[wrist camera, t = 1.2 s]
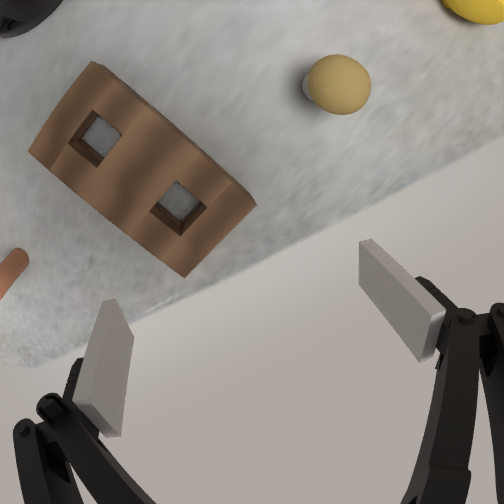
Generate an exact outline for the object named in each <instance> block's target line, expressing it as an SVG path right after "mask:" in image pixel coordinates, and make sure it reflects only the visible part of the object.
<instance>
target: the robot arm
mask: <svg viewBox="0 0 504 504" xmlns="http://www.w3.org/2000/svg"><path fill="white" fill-rule="evenodd" d="M61 1H62V0H0V37H13V36H17V35H20V34H22V33H24V32H27V31H28V30H30V29H32V28H33V27H35V26H36V25H38V24H39V23H41V22H42V21H43V20H44V19H45V18H47V17H48V16H49V15H50V14H51V13H52V12H53V11H54V10H55V9H56V7H57V6H58V5H59V4H60V3H61ZM359 285H360V286H361V288H362V289H363V290H364V291H365V293H366V294H367V295H368V296H369V298H370V299H371V300H372V301H373V303H374V304H375V305H376V306H377V308H378V309H379V310H380V312H381V313H382V314H383V315H384V317H385V318H386V319H387V320H388V322H389V323H390V324H391V326H392V327H393V328H394V330H395V331H396V332H397V333H398V335H399V336H400V337H401V339H402V340H403V341H404V343H405V344H406V345H407V347H408V348H409V349H410V351H411V352H412V353H413V355H414V356H415V357H416V359H417V360H418V362H423V361H425V360H427V359H429V358H431V357H433V355H434V352H435V348H437V349H438V350H439V352H440V355H439V359H438V361H437V364H436V367H435V369H437V374H436V379H435V385H434V391H433V396H432V402H431V406H430V411H429V415H428V420H427V424H426V428H425V433H424V437H423V440H422V444H421V448H420V452H419V455H418V458H417V462H416V465H415V468H414V472H413V475H412V478H411V481H410V484H409V486H408V489H407V491H406V493H405V495H404V497H403V499H402V501H401V503H400V504H465V502H466V498H467V494H468V490H469V486H470V481H471V471H470V470H468V463H469V458H470V453H471V447H472V440H473V433H474V426H475V418H476V408H477V395H478V381H479V370H480V374H481V378H482V383H483V388H484V393H485V398H486V403H487V409H488V415H489V421H490V428H491V435H492V443H493V452H494V464H495V477H496V493H497V500H498V504H504V303H495V304H493V305H492V307H491V309H490V312H489V313H485V314H479V315H476V313H475V312H473V311H472V310H470V309H466V308H458V307H457V306H456V305H455V304H454V303H453V302H452V301H450V300H449V299H448V298H447V297H446V296H445V295H444V294H443V293H441V291H440V290H439V289H438V288H436V286H435V285H434V284H433V283H432V282H430V281H429V280H427V279H425V278H423V277H421V276H419V277H416V278H413V277H412V276H411V275H410V274H409V273H408V272H407V271H406V270H405V269H404V268H403V267H402V266H401V265H400V264H399V263H397V262H396V261H395V260H394V259H393V258H392V257H391V256H390V255H389V254H388V253H387V252H386V251H384V250H383V249H382V248H381V247H380V246H379V245H378V244H376V243H375V242H374V241H373V240H372V239H368V240H364V241H360V242H359ZM133 341H134V336H133V334H132V332H131V330H130V328H129V326H128V324H127V322H126V320H125V318H124V316H123V314H122V312H121V309H120V307H119V305H118V303H117V301H116V299H111V300H106V301H103V302H102V305H101V308H100V311H99V313H98V316H97V319H96V322H95V325H94V328H93V331H92V334H91V337H90V340H89V343H88V347H87V350H86V353H85V356H84V358H78V359H77V360H76V361H75V363H74V364H73V365H72V368H71V370H70V374H69V377H68V380H67V384H66V387H65V390H64V394H63V397H62V398H61V397H60V396H59V395H58V394H57V393H49V394H46V395H45V396H43V397H42V398H41V399H40V400H39V402H38V404H37V407H36V411H37V414H38V415H39V416H40V417H41V418H42V419H43V420H44V422H41V423H38V424H35V423H34V422H33V421H31V420H30V419H27V418H25V419H22V420H20V421H19V422H18V423H17V424H16V425H15V427H14V430H13V441H14V448H15V456H16V463H17V468H18V474H19V480H20V485H21V490H22V495H23V499H24V503H25V504H84V503H83V501H82V498H81V495H80V492H79V490H78V487H77V484H76V481H75V478H74V475H73V473H72V469H71V466H72V467H73V469H74V470H75V472H76V473H77V475H78V476H79V478H80V479H81V481H82V482H83V484H84V485H85V487H86V488H87V490H88V491H89V492H90V494H91V495H92V496H93V498H94V499H95V501H96V502H97V504H156V503H155V502H154V501H153V500H152V499H151V498H150V497H149V496H148V495H147V494H146V493H145V492H144V491H143V490H142V488H141V487H140V486H139V485H138V484H137V483H136V482H135V481H134V480H133V479H132V478H131V476H129V474H128V473H127V472H126V471H125V470H124V468H122V466H121V465H120V464H119V463H118V461H117V460H116V459H115V458H114V457H113V456H112V454H111V453H110V452H109V450H108V449H107V448H106V447H105V445H104V444H103V443H102V442H101V440H99V438H98V436H99V431H100V432H101V433H102V434H103V435H104V436H105V437H106V438H107V437H121V430H122V420H123V411H124V403H125V395H126V387H127V380H128V373H129V366H130V360H131V353H132V348H133ZM69 462H70V463H69ZM70 464H71V466H70Z"/></svg>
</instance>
